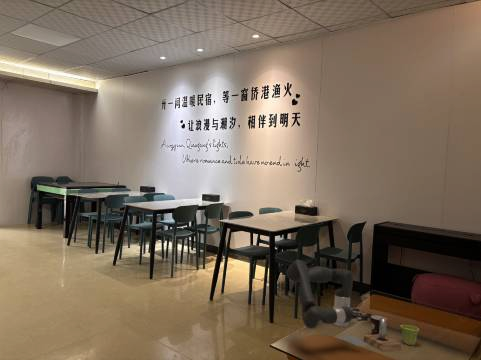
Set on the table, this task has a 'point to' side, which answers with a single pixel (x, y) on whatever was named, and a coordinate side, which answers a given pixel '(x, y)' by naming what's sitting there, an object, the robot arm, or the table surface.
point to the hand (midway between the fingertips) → (364, 313)
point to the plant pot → (409, 334)
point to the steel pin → (382, 329)
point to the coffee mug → (375, 324)
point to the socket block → (382, 343)
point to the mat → (353, 340)
